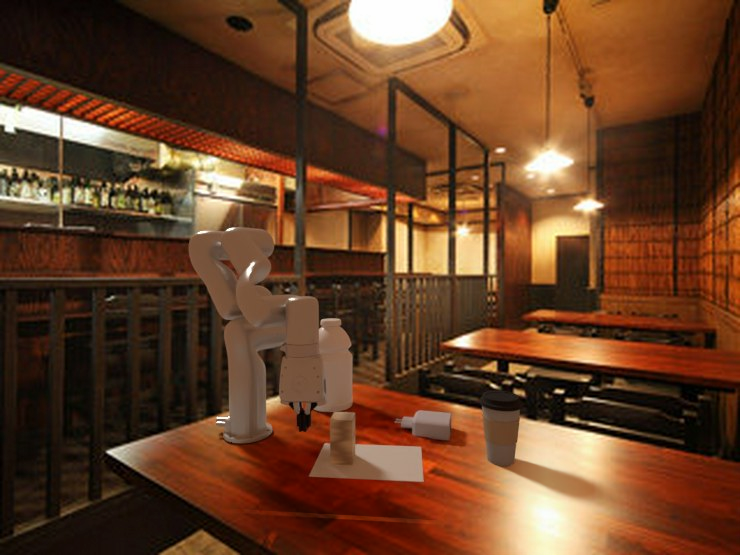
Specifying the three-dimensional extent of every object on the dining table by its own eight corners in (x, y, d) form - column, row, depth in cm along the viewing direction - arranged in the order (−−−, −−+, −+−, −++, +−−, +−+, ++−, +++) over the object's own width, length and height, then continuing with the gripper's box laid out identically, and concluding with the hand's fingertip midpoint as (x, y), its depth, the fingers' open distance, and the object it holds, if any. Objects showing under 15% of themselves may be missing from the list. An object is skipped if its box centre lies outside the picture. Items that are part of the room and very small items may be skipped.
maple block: (329, 464, 88) (329, 419, 88) (333, 453, 93) (333, 411, 93) (352, 465, 88) (352, 420, 87) (355, 454, 93) (355, 412, 92)
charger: (398, 423, 114) (451, 428, 110) (391, 436, 105) (449, 442, 101) (398, 406, 114) (451, 411, 109) (391, 418, 105) (449, 424, 101)
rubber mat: (308, 479, 83) (308, 476, 83) (324, 445, 99) (324, 443, 99) (423, 484, 81) (423, 481, 81) (421, 449, 97) (421, 446, 97)
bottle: (320, 396, 137) (319, 316, 136) (358, 400, 133) (357, 317, 133) (302, 411, 123) (301, 321, 123) (344, 415, 120) (344, 323, 119)
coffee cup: (523, 455, 93) (523, 392, 93) (520, 474, 85) (520, 404, 84) (482, 447, 97) (482, 387, 97) (475, 465, 89) (475, 398, 88)
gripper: (265, 353, 88) (266, 435, 88) (331, 353, 86) (332, 437, 86) (276, 347, 95) (278, 422, 96) (337, 347, 94) (339, 424, 94)
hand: (304, 429), depth 91 cm, fingers closed
